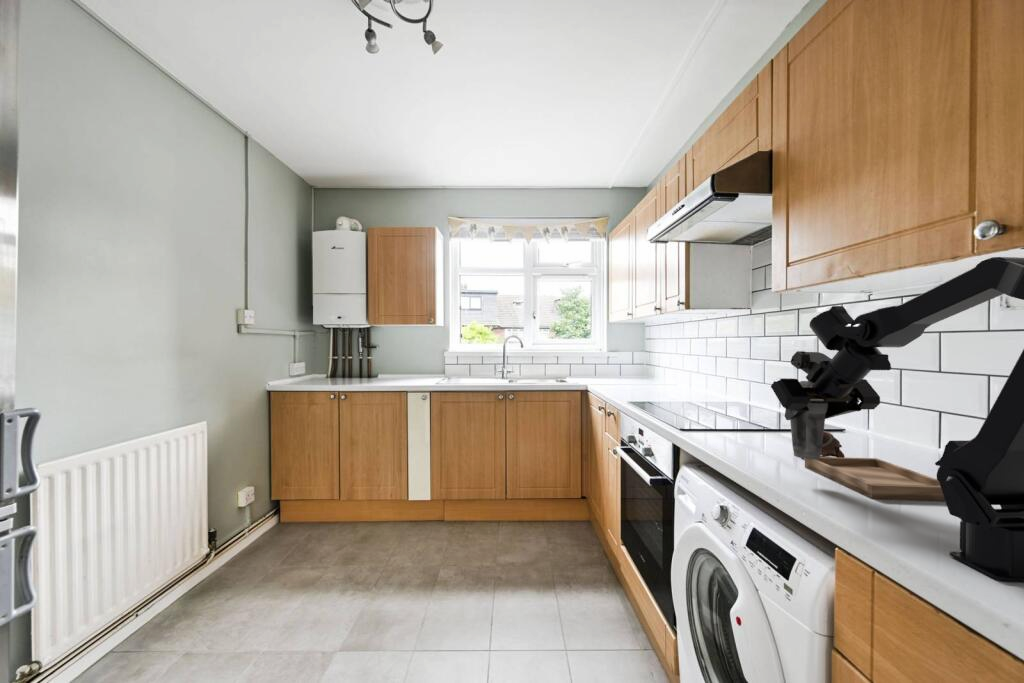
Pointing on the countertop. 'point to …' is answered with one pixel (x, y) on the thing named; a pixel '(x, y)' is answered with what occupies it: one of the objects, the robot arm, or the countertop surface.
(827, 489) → the countertop surface
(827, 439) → the brown rounded piece
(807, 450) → the beverage cup
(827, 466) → the walnut tray
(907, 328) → the robot arm
